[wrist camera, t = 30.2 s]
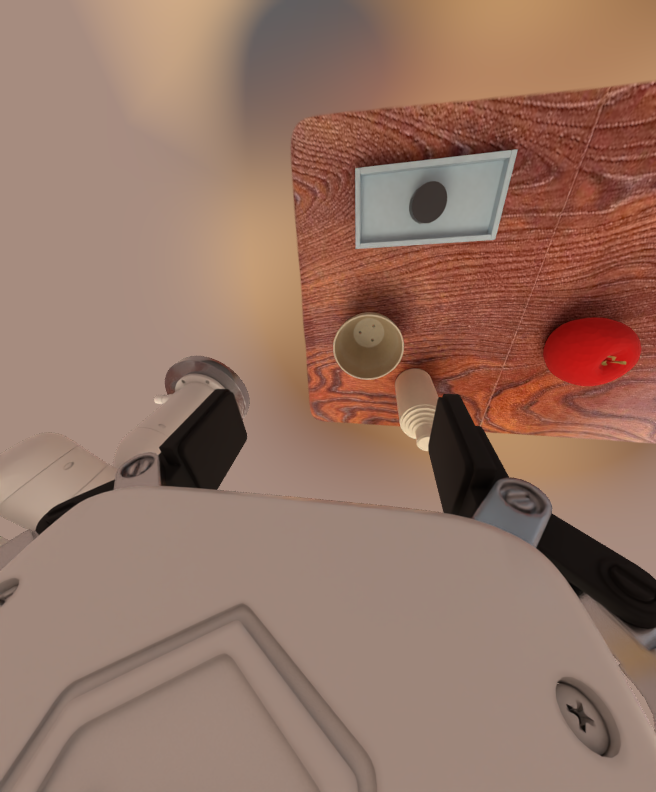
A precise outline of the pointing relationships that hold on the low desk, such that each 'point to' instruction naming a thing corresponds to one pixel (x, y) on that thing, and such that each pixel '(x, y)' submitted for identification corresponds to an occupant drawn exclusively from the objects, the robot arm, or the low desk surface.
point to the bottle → (416, 404)
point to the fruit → (591, 351)
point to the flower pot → (368, 346)
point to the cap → (428, 202)
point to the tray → (465, 210)
